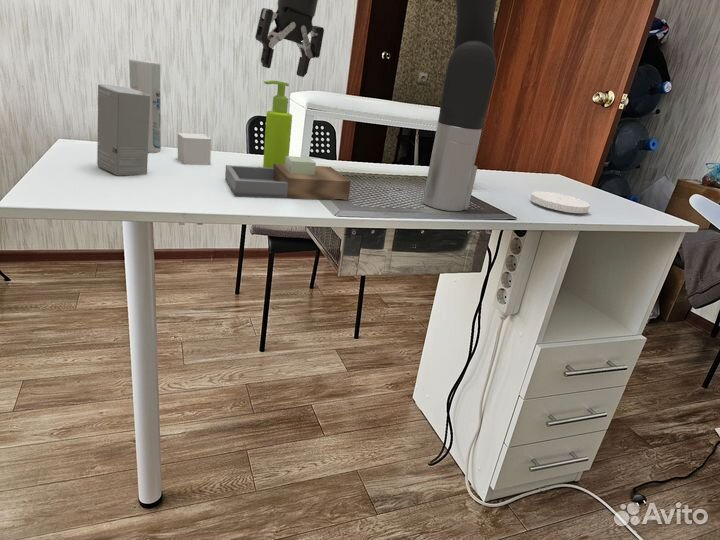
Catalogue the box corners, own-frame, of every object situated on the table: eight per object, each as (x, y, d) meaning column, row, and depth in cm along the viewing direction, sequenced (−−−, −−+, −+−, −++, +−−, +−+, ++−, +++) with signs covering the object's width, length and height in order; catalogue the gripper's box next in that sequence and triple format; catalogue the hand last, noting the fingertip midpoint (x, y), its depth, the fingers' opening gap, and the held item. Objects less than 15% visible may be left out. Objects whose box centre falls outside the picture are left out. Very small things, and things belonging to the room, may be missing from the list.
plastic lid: (518, 199, 129) (520, 190, 128) (559, 201, 135) (562, 192, 134) (555, 216, 118) (558, 206, 117) (599, 218, 123) (602, 208, 122)
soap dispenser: (256, 165, 122) (261, 78, 114) (283, 166, 125) (290, 82, 117) (262, 171, 117) (268, 80, 109) (290, 172, 120) (298, 84, 112)
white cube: (210, 165, 116) (211, 139, 113) (183, 165, 113) (183, 137, 110) (203, 159, 120) (204, 134, 118) (177, 158, 117) (177, 132, 115)
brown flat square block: (328, 184, 114) (330, 166, 113) (348, 200, 103) (350, 181, 102) (272, 181, 109) (273, 163, 108) (286, 198, 98) (288, 178, 97)
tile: (307, 169, 107) (309, 157, 106) (314, 174, 103) (315, 162, 102) (284, 167, 105) (285, 155, 104) (290, 173, 101) (291, 161, 100)
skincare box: (96, 167, 100) (91, 83, 94) (131, 165, 105) (128, 85, 99) (117, 177, 95) (113, 89, 89) (152, 174, 101) (151, 92, 95)
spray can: (132, 146, 122) (129, 58, 115) (161, 148, 125) (160, 62, 117) (131, 151, 117) (128, 59, 109) (161, 153, 119) (160, 63, 112)
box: (272, 181, 109) (273, 167, 108) (286, 198, 98) (288, 183, 97) (225, 179, 105) (225, 165, 104) (234, 196, 94) (235, 180, 93)
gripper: (280, -25, 91) (263, 68, 97) (340, -1, 100) (321, 82, 106) (259, -28, 96) (244, 61, 101) (318, -5, 105) (301, 75, 111)
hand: (283, 71), depth 104 cm, fingers open, 8 cm apart
